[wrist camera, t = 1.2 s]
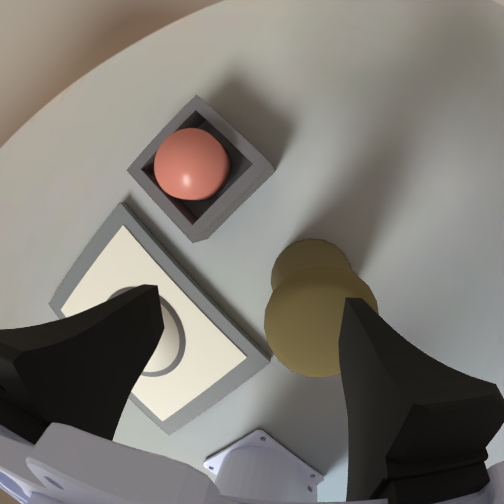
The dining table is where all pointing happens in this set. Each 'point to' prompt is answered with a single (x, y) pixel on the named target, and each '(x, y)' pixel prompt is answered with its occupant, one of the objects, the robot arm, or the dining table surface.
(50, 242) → the dining table surface
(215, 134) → the button base
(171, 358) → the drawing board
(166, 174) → the button
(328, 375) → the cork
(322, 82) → the dining table surface
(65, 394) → the robot arm
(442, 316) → the dining table surface
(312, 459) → the dining table surface
